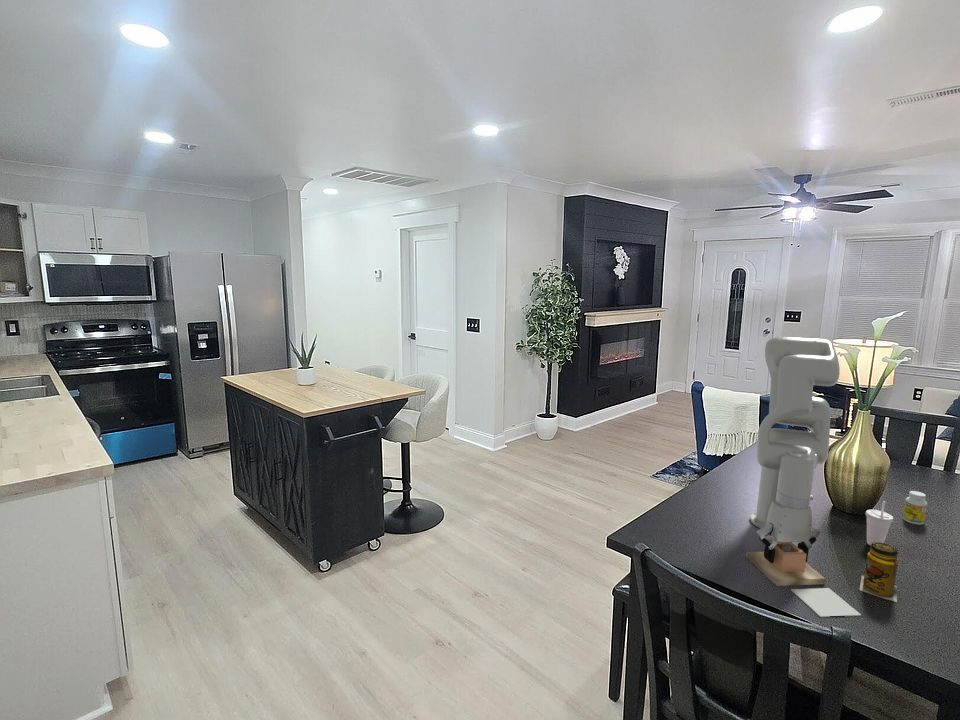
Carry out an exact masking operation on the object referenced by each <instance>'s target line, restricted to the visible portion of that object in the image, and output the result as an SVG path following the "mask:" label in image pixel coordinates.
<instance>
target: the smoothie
mask: <svg viewBox="0 0 960 720" xmlns="http://www.w3.org/2000/svg"><path fill="white" fill-rule="evenodd" d="M885 506H886V501H885V500H882V503H881V510H879V509H867V510H866V511H865V516H866V543H867V545H869V546H870V547H871V544H872V543H874V542H881V543H886V539H887V535H888V532H889V529H890V527H891V525H892V523H893V522H894V516H893V515H891V514H890V513H888V512H887V511H886V512H885Z"/></svg>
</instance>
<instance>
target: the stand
mask: <svg viewBox="0 0 960 720" xmlns="http://www.w3.org/2000/svg"><path fill="white" fill-rule="evenodd" d="M782 550H783V551H784V552H791V546H790V545H789V544H783V545H782ZM745 557H746V559H747V560H748V561H750V562H751V563H752V564H753V565H754V566H755V567H756V568H757V569H758V570H759V571H760V572H762V573H763V575H765V576H766V578H767V579H768V580H770V581H771V582H772V583H773V584H774V585H775V586H776V587H780V586H782V587H783V586H785V587H786V586H805V585H806V586H809V585H810V586H813V585H816V586H817V585H825V584H826V578H825V576H823V575H821V574H820V573H819V572H818V571H817V570H816V569H814V568H813V567H812V566H811V565H809V564H808V563H807V562H805V569H804V571H801V572H780V571H779V570H778V569H777V568H776V567H775V566H774V565H772V564H771V563H770V562H769V561H768V560H767V559H765V558H764V551H747V552H746V556H745Z"/></svg>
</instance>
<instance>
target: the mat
mask: <svg viewBox="0 0 960 720" xmlns="http://www.w3.org/2000/svg"><path fill="white" fill-rule="evenodd" d="M790 591H791V592H792V593H793V594H794V595H796V597H797V598H799V599H800V601H802V602H803V603H804V604H805V605H806V606H807V607H808V608H809V609H811V611H813V612H814V613H815V614H816V615H818V617H819V618H831V617H830V616H845V617H861V616H862V613H860V612H859V611H857V610H856V609H855V608H853V606H851V605H850V604H849V603H847V601H845V600H844V599H843V598H842V597H840V596H839V594H837V593H836V592H834V591H833V590H832V589H831V588H829V587H825V588H824V587H819V588H794V589H793V588H792V589H790Z"/></svg>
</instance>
